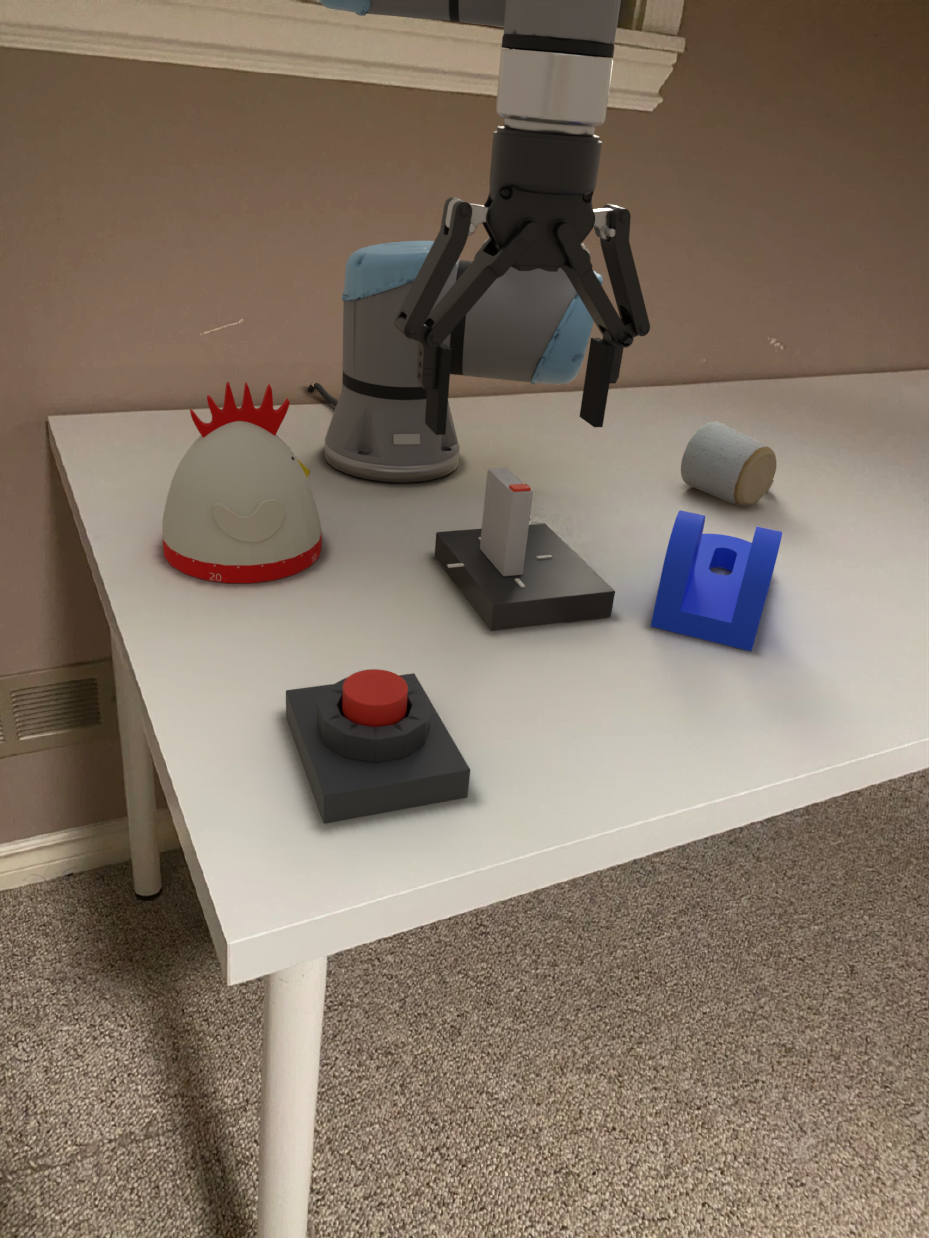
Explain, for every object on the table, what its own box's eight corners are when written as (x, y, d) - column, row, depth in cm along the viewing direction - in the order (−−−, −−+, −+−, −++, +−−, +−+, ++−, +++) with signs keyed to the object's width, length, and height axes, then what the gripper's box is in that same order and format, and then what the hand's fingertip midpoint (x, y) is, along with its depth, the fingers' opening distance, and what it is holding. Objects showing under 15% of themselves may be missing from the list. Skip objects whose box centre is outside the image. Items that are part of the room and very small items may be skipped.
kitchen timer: (332, 578, 82) (335, 408, 74) (165, 588, 78) (151, 410, 70) (308, 513, 93) (308, 361, 86) (162, 519, 89) (149, 360, 82)
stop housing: (285, 716, 64) (285, 666, 62) (412, 698, 67) (415, 650, 65) (323, 824, 55) (324, 770, 53) (467, 797, 58) (473, 745, 56)
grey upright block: (479, 548, 83) (487, 465, 80) (498, 547, 84) (507, 464, 80) (503, 576, 79) (513, 490, 75) (522, 574, 80) (533, 489, 76)
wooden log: (733, 515, 102) (751, 447, 98) (673, 490, 107) (687, 424, 103) (787, 498, 108) (805, 433, 104) (727, 475, 113) (743, 412, 110)
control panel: (420, 557, 87) (421, 531, 85) (541, 546, 91) (545, 521, 90) (475, 633, 75) (478, 604, 74) (611, 617, 80) (616, 589, 78)
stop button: (335, 696, 60) (335, 673, 59) (395, 687, 61) (397, 665, 61) (351, 732, 57) (352, 709, 56) (414, 723, 58) (416, 699, 57)
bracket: (751, 651, 77) (778, 551, 72) (650, 626, 79) (670, 527, 74) (769, 565, 92) (793, 477, 87) (684, 546, 94) (702, 460, 89)
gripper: (675, 134, 72) (628, 405, 83) (358, 110, 64) (351, 416, 74) (732, 143, 66) (673, 434, 77) (390, 118, 58) (377, 449, 68)
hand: (515, 425), depth 76 cm, fingers open, 13 cm apart
